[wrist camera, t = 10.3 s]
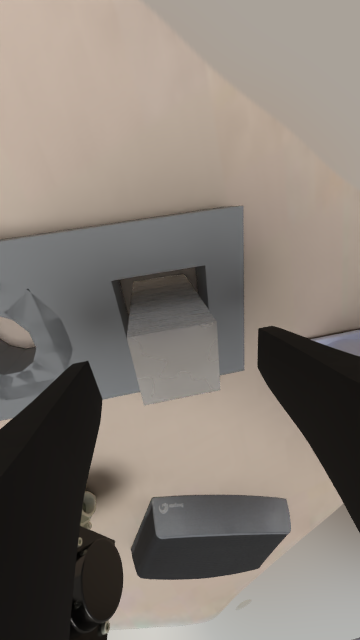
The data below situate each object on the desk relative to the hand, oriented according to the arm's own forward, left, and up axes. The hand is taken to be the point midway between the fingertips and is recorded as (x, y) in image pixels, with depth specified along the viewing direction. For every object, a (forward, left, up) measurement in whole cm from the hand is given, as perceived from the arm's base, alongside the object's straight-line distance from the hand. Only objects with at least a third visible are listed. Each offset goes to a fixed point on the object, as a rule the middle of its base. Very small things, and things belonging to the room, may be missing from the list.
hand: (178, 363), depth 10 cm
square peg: (0, 0, -8) cm, 8 cm away
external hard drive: (-1, +34, -9) cm, 35 cm away
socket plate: (+5, 0, -8) cm, 9 cm away
